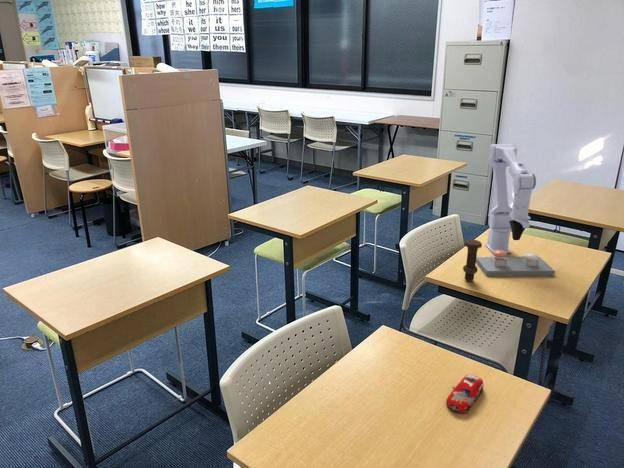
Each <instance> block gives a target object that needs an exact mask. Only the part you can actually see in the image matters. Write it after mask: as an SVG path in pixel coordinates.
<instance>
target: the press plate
mask: <svg viewBox="0 0 624 468" xmlns="http://www.w3.org/2000/svg"><path fill="white" fill-rule="evenodd" d="M476 265H478V267H479V268H480V270H481V271H482V272H483V274H484V275H485V276H486V277H520V276H521V277H532V276H533V277H537V276H538V277H543V276H544V277H546V276H547V277H548V276H550V277H551V276H553V277H554V276H555V269H553V268H552V267H551V265H549V264H548V263H547V262H546V261H545V259H543V258H541V257H540V256H538V260H535V261H531V260H527V259H525V258H524V255H523V256H506V257H503V259H502V260H496V256H494V255H493V256H484V257H483V256H477V257H476Z"/></svg>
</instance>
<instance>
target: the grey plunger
mask: <svg viewBox="0 0 624 468" xmlns="http://www.w3.org/2000/svg"><path fill="white" fill-rule="evenodd" d="M523 254H524V255H523V256H524V258H525V259H527V260H531V261H535V260H538V257H539V255H538V254H537V253H535V252H534V253H533V252H525V253H523Z"/></svg>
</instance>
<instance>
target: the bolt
mask: <svg viewBox="0 0 624 468" xmlns="http://www.w3.org/2000/svg"><path fill="white" fill-rule="evenodd" d="M464 246H465V247H466V248H467V255H466V262H465V263H466V264H464V265H463V267H462V270H463V272H464V280H465V281H466V282H473V281H474V279H475V274H477V273H478V269H479V268H478V267H477V263H476V257H478V256H477V254H478V251H479V250H478V249H480V248H482V246H483V245H482V242H481V241H479V240H478V239H467V240H466V241H464Z"/></svg>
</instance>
